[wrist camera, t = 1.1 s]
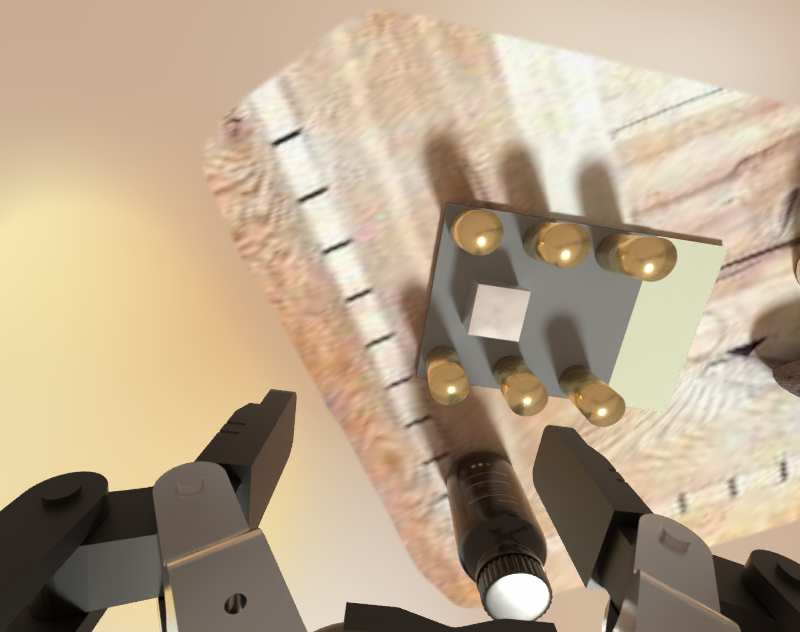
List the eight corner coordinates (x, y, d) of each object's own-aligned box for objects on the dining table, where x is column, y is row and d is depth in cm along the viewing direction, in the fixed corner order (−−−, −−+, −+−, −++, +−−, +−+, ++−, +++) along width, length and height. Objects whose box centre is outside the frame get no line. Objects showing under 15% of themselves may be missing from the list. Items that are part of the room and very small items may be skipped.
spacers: (638, 236, 30) (683, 241, 25) (587, 398, 33) (618, 429, 29) (453, 207, 29) (463, 206, 24) (422, 374, 33) (426, 402, 28)
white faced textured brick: (518, 284, 31) (530, 291, 28) (507, 330, 32) (518, 341, 29) (471, 277, 31) (478, 283, 28) (461, 323, 32) (467, 334, 29)
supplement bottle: (519, 501, 37) (572, 631, 26) (451, 512, 38) (474, 645, 26) (510, 442, 35) (563, 553, 24) (440, 455, 36) (458, 569, 24)
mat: (723, 246, 30) (729, 247, 30) (662, 409, 34) (666, 412, 34) (446, 202, 30) (447, 202, 29) (416, 374, 34) (416, 377, 33)
